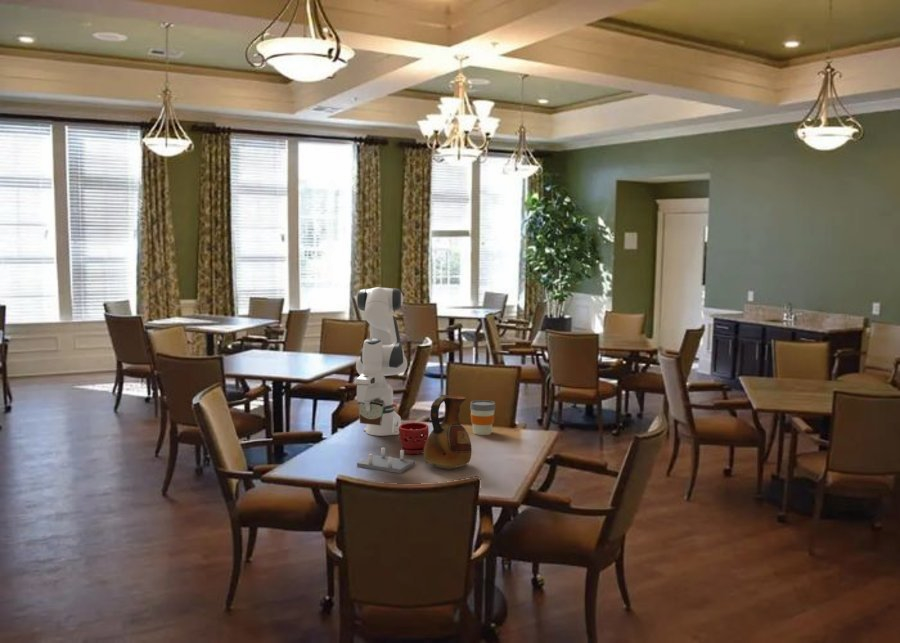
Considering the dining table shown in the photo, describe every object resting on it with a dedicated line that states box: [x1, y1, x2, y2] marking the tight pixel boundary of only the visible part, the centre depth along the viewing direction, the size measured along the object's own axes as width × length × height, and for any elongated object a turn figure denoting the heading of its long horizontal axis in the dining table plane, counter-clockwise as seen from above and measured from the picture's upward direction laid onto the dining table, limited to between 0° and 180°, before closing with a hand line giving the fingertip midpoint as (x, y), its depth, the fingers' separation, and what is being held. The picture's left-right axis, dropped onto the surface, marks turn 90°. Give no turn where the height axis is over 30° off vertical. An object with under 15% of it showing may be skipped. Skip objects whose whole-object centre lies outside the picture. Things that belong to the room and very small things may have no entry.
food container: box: [356, 399, 385, 426], centre depth 328 cm, size 12×6×10 cm, turn 72°
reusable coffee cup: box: [469, 399, 496, 436], centre depth 382 cm, size 13×13×15 cm
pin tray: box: [356, 447, 416, 474], centre depth 323 cm, size 14×20×6 cm
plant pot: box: [398, 422, 430, 455], centre depth 345 cm, size 13×13×12 cm
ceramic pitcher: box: [423, 394, 473, 470], centre depth 323 cm, size 20×20×30 cm
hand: (372, 409), depth 328 cm, fingers closed on food container, 5 cm apart
